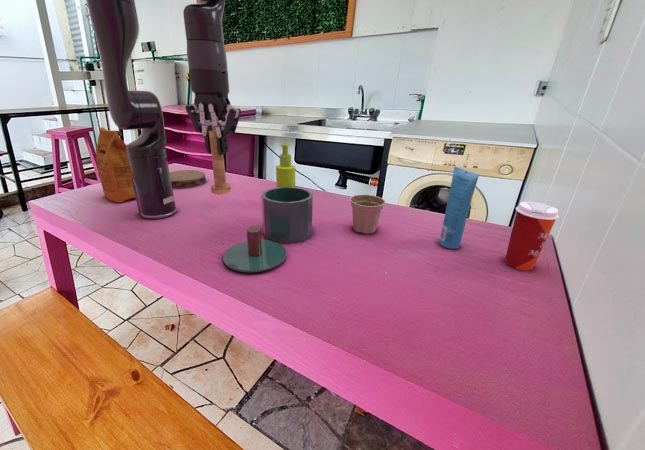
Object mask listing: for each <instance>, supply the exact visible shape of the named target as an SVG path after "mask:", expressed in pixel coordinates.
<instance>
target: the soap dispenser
mask: <svg viewBox="0 0 645 450" xmlns="http://www.w3.org/2000/svg"><path fill="white" fill-rule="evenodd" d="M291 145H292V143H291V142H282V143H281V144H280V147H281V148H282V153H281V154H279V164H278V165H276V166H275V180H276V181H275V182H276V188H277V187H296V166H295V165H293V164H292V155H291V154H290V153H289V146H291Z"/></svg>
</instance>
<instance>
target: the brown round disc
mask: <svg viewBox="0 0 645 450" xmlns="http://www.w3.org/2000/svg"><path fill="white" fill-rule="evenodd" d="M169 172H170V177H171V183H172V189H173V190H175V189H177V190H178V189H179V190H180V189H189V188H190V189H191V188H196V187H200V186H202V185H205V183H206V182H207V180H206V172H204V171H202V170H194V169H185V170H181V169H180V170H174V171H169Z"/></svg>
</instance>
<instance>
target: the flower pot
mask: <svg viewBox="0 0 645 450" xmlns="http://www.w3.org/2000/svg"><path fill="white" fill-rule="evenodd" d="M349 202H350V206H351V210H352V229H353V230H354V231H355V232H356V233H362V234H364V235H370V234H374V233H375V232H376V230H377V227H378V222H379V219H380V215H381V212H382V210H383V208H384V206H385V205H386V200H385V199H384V198H382V197H380V196H376V195H373V194H355V195H352V196H351V197H349Z"/></svg>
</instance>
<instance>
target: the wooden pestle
mask: <svg viewBox="0 0 645 450" xmlns="http://www.w3.org/2000/svg"><path fill="white" fill-rule="evenodd" d="M209 138H210V147H211V153H210V154H211V163H212V172H213V181H214V183H213V184H211V185H210V189H211V193H212V194H213V195H226V194H230V193H231V191H232V190H231V184H230V183H227V178H226V168H225V158H224V155H219V154H218V147H217V138H218V137H217V133H216V129H214V130H210V131H209Z"/></svg>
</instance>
